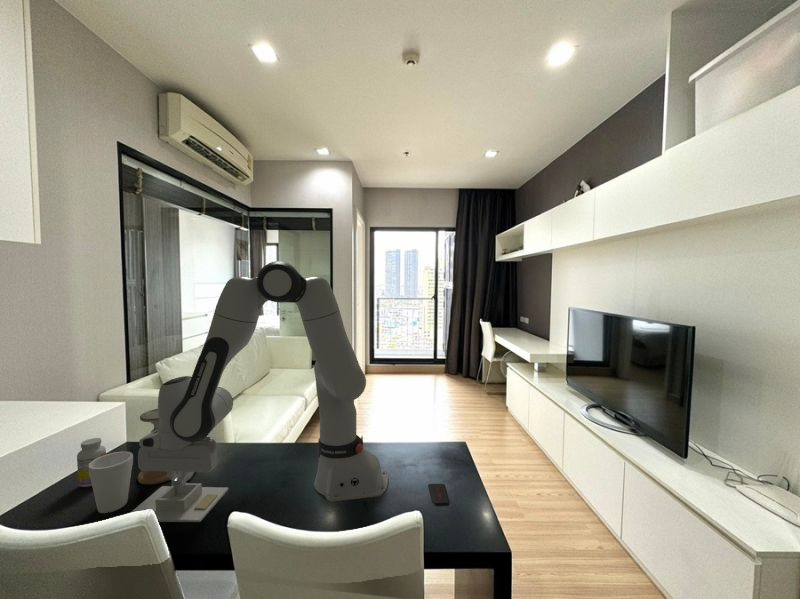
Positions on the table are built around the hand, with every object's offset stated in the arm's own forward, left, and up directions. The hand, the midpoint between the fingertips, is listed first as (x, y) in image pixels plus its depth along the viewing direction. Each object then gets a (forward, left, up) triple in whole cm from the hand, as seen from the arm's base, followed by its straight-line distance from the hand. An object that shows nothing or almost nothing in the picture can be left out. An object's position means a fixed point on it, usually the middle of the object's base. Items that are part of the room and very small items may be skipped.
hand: (178, 485), depth 95 cm
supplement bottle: (+34, -10, -6) cm, 36 cm away
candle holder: (+16, -15, -6) cm, 23 cm away
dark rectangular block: (-73, -4, -6) cm, 73 cm away
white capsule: (+6, -11, -4) cm, 14 cm away
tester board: (0, 0, -6) cm, 6 cm away
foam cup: (+18, +1, -6) cm, 19 cm away
